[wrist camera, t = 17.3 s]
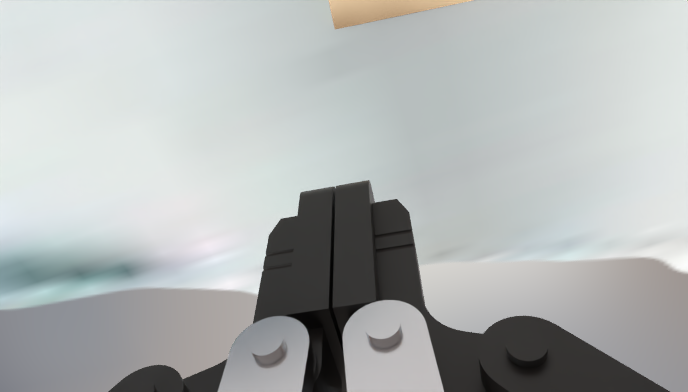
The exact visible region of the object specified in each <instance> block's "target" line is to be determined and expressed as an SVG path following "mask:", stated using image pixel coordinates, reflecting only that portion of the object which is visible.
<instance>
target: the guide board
mask: <svg viewBox="0 0 688 392" xmlns="http://www.w3.org/2000/svg"><path fill="white" fill-rule="evenodd" d="M467 1H472V0H329V4H330V9H331V13H332V18H333V22H334V27H335V29H339V28H344V27H348V26H353V25H358V24H363V23H367V22H372V21H377V20H382V19H386V18H391V17H396V16H401V15H406V14H410V13H415V12H420V11H425V10H429V9H434V8H439V7H444V6H448V5H453V4H458V3H463V2H467Z"/></svg>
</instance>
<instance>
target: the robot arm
mask: <svg viewBox="0 0 688 392" xmlns="http://www.w3.org/2000/svg"><path fill="white" fill-rule="evenodd" d="M263 268H264V271H263V272H262V277H261V283H260V288H259V294H258V299H257V305H256V310H255V316H254V321H253V324H252V325H250V326H249V327H248V328H246V329H245V330H244V331H243V332H242V333H241V334H240V335H239V336H238V337H237V338H236V340H235V342H234V343H233V345H232V347H231V350H230V352H229V356H228V359H226V360H225V361H223V362H222V363H220V364H218V365H216V366H214V367H211V368H209V369H206V370H204V371H202V372H199V373H197V374H195V375H192V376H190V377H187V378H185V379H182V378H181V376H180V374H179V373H178V372H177V371H176V370H175V369H173V368H171V367H168V366H165V365H164V366H163V365H154V366H149V367H145V368H142V369H140V370H138V371H135V372H133V373H131V374H130V375H128V376H127V377H125V378H124V379H123V380H121V381H120V382H119V383H118V384H117V385H116V386H114V387H113V388H112V389H111V390H110V391H109V392H670V391H668V390H666V389H664V388H663V387H661V386H659V385H658V384H656V383H654V382H653V381H651V380H649V379H648V378H646V377H644V376H642V375H641V374H639V373H637V372H635V371H634V370H632V369H631V368H629V367H627V366H625V365H624V364H622V363H620V362H618V361H617V360H615V359H613V358H612V357H610V356H608V355H607V354H605V353H603V352H602V351H599V350H598V349H596V348H595V347H593V346H591V345H590V344H588V343H586V342H584V341H583V340H581V339H579V338H578V337H576V336H574V335H573V334H571V333H569V332H567V331H566V330H564V329H562V328H561V327H559V326H557V325H556V324H553V323H552V322H550V321H547V320H544V319H541V318H537V317H532V316H515V317H510V318H506V319H503V320H500V321H498V322H496V323H495V324H493V325H492V326H490V327H489V328H488V329H487V330H486V331H485V333H484V334H479V333H472V332H465V331H460V330H455V329H452V328H449V327H447V326H445V325H443V324H441V323H440V322H438V321H437V320H435V319H434V318H433V317H432V316H431V315H430V313H429V312H428V311H427V309H426V307H425V302H424V296H423V290H422V284H421V279H420V271H419V265H418V260H417V254H416V248H415V243H414V237H413V232H412V226H411V220H410V215H409V212H408V211H407V209H406V208H405V207H404V206H403V205H402V204H401V203H400V202H399V201H398V200H397V199H394V200H388V201H382V202H376V203H375V201H374V197H373V192H372V188H371V184H370V181H369V180H368V181H362V182H356V183H350V184H345V185H339V186H336V189H335V187H328V188H323V189H317V190H311V191H305V192H301V194H300V200H299V208H298V216H295V217H289V218H283V219H281V220H280V221H279V222H278V224H277V225H276V227H275V228H274V229H273V231H272V232H271V234H270V235H269V238H268V244H267V249H266V257H265V261H264V266H263Z"/></svg>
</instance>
